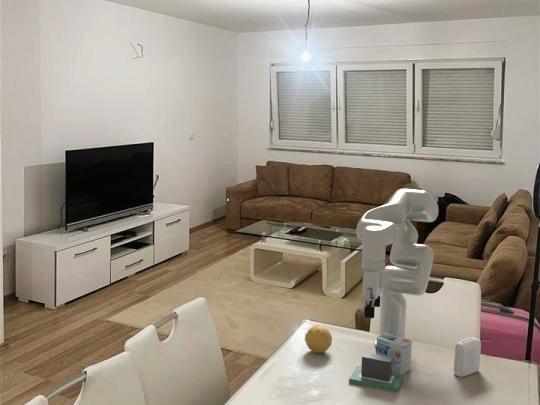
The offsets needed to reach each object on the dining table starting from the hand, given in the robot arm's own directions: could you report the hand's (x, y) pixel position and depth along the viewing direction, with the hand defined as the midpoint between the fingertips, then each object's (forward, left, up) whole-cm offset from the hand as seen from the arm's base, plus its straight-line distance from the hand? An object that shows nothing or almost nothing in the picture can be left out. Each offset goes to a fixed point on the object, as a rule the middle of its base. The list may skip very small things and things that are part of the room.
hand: (372, 311), depth 191 cm
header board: (+4, +3, -22) cm, 23 cm away
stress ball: (-9, -22, -23) cm, 32 cm away
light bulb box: (-8, +6, -23) cm, 25 cm away
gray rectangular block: (+4, +3, -21) cm, 21 cm away
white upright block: (-15, +30, -23) cm, 40 cm away
